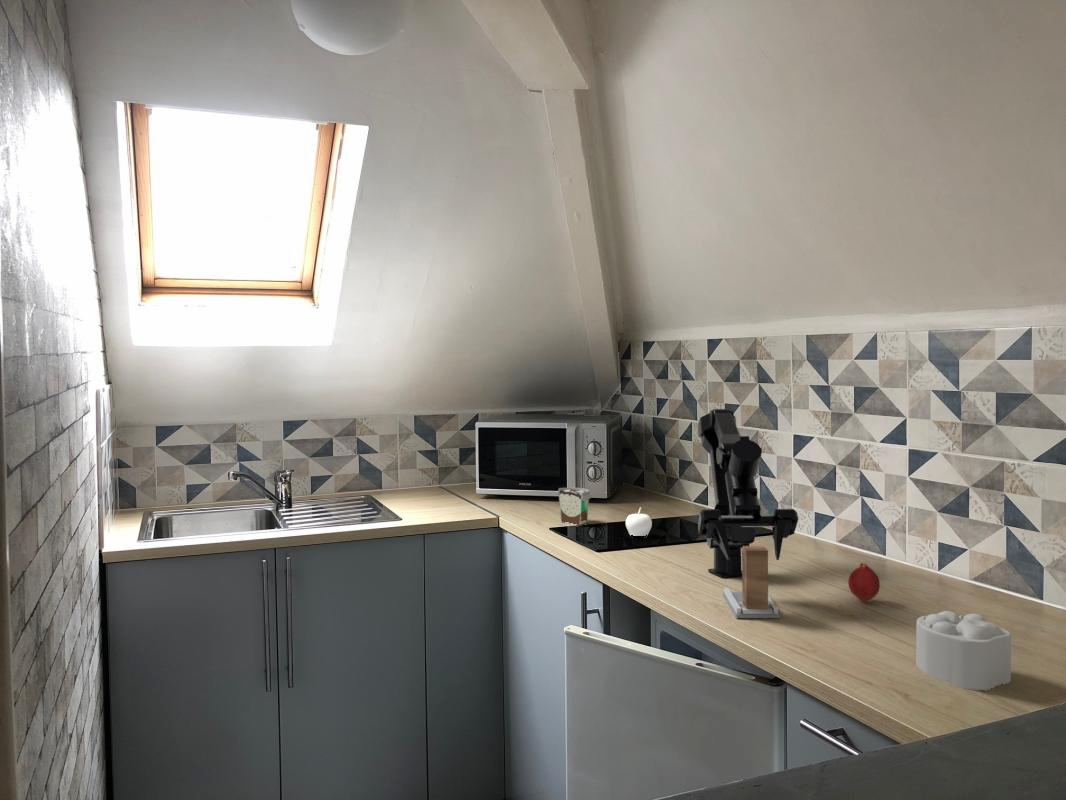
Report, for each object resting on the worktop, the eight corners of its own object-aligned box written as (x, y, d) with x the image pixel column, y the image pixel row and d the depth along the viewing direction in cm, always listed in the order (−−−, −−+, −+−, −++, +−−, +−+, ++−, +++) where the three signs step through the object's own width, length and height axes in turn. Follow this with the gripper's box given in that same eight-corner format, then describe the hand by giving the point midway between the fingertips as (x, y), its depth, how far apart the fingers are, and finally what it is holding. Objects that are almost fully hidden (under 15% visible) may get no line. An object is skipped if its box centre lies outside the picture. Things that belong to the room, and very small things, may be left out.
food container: (599, 525, 248) (599, 491, 248) (583, 527, 245) (582, 493, 244) (574, 518, 259) (573, 486, 258) (558, 521, 255) (557, 488, 255)
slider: (722, 596, 174) (722, 587, 174) (762, 596, 173) (762, 587, 173) (736, 618, 159) (736, 609, 159) (779, 618, 158) (779, 609, 158)
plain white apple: (656, 538, 230) (656, 508, 229) (633, 540, 227) (632, 510, 227) (644, 533, 236) (644, 504, 236) (621, 535, 234) (621, 506, 233)
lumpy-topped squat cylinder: (977, 694, 123) (977, 635, 122) (899, 666, 134) (899, 612, 134) (1019, 679, 128) (1020, 622, 127) (941, 654, 139) (941, 601, 139)
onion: (854, 596, 172) (854, 557, 172) (883, 601, 168) (883, 561, 168) (844, 603, 168) (844, 562, 167) (874, 608, 164) (874, 567, 164)
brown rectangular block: (738, 606, 164) (737, 545, 163) (766, 606, 164) (766, 545, 163) (743, 613, 159) (742, 551, 158) (772, 613, 159) (772, 551, 158)
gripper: (782, 515, 178) (795, 581, 168) (692, 515, 179) (700, 581, 169) (791, 483, 170) (806, 550, 159) (697, 483, 171) (705, 550, 160)
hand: (753, 559), depth 162 cm, fingers open, 9 cm apart
